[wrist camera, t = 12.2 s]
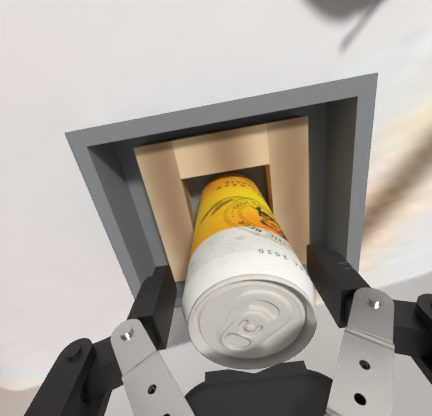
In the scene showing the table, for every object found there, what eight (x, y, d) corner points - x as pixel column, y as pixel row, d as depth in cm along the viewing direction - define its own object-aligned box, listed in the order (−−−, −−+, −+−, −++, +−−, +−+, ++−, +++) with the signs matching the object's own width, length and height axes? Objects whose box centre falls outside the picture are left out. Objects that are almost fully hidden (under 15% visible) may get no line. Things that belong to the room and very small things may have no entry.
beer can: (270, 189, 23) (359, 309, 9) (238, 234, 25) (269, 389, 11) (219, 159, 21) (227, 242, 8) (190, 209, 23) (154, 347, 10)
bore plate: (179, 264, 26) (175, 282, 23) (144, 143, 21) (133, 147, 18) (299, 246, 25) (309, 263, 22) (295, 115, 20) (308, 115, 17)
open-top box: (153, 276, 28) (140, 312, 23) (100, 128, 21) (64, 132, 16) (330, 251, 27) (357, 283, 22) (336, 82, 20) (378, 72, 15)
